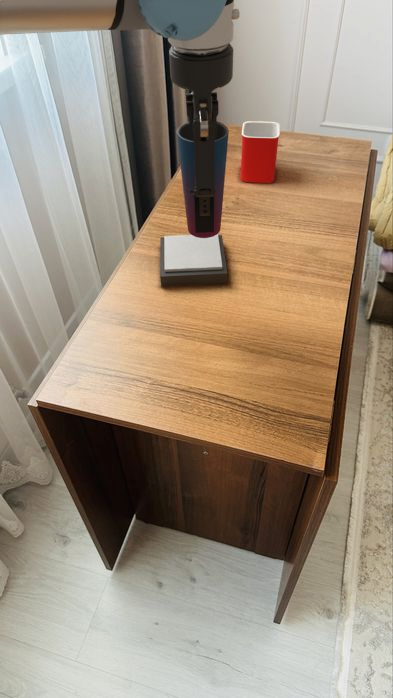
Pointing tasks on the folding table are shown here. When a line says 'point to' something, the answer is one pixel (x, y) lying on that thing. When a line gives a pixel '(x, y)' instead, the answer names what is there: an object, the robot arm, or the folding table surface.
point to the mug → (259, 151)
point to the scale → (192, 260)
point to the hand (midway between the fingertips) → (203, 217)
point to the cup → (189, 175)
